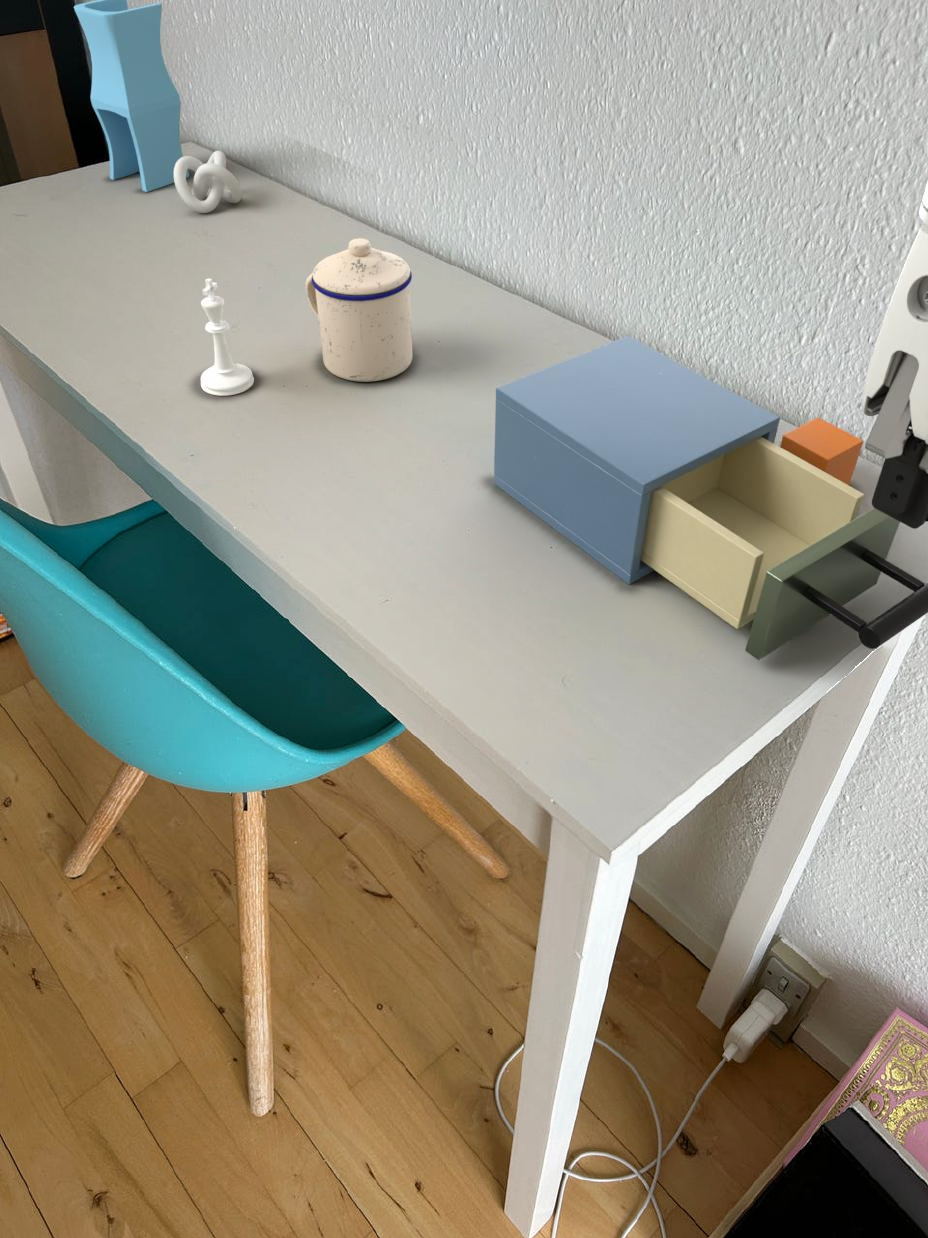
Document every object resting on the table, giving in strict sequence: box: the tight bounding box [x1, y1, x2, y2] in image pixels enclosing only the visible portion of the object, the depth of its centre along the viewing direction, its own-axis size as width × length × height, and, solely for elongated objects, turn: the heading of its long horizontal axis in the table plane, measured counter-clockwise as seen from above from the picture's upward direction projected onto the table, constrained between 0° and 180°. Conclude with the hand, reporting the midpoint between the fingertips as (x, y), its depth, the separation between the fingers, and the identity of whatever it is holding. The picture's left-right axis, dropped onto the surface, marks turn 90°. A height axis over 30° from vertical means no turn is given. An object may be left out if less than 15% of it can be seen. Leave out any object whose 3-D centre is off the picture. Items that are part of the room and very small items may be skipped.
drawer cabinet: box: [493, 335, 781, 585], centre depth 75 cm, size 16×14×9 cm
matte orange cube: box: [779, 417, 864, 486], centre depth 78 cm, size 4×4×4 cm
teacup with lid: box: [304, 237, 414, 383], centre depth 91 cm, size 12×9×12 cm
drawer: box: [641, 436, 928, 661], centre depth 67 cm, size 20×13×7 cm, turn 37°
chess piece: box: [200, 278, 255, 397], centre depth 88 cm, size 5×5×10 cm
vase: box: [73, 0, 190, 193], centre depth 125 cm, size 8×8×20 cm
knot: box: [174, 150, 243, 214], centre depth 122 cm, size 8×8×6 cm
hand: (901, 512), depth 57 cm, fingers closed
